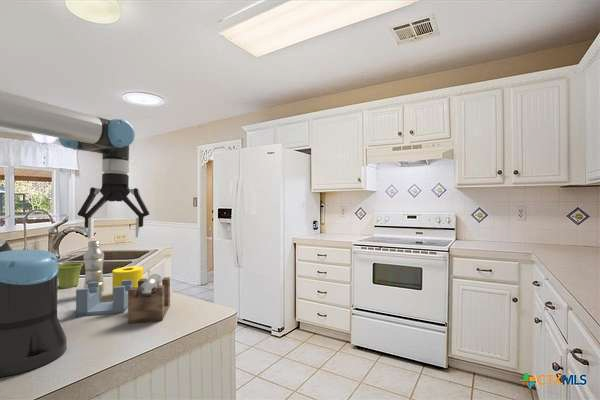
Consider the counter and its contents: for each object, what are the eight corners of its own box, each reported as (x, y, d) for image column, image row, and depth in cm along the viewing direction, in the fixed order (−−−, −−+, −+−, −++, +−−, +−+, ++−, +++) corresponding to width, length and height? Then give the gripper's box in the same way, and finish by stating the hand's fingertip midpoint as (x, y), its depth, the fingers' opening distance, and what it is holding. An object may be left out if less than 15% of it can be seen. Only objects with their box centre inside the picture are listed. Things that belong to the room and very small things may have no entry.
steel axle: (153, 296, 88) (153, 282, 88) (138, 297, 87) (138, 283, 87) (161, 285, 99) (161, 273, 99) (148, 286, 98) (148, 274, 98)
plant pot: (82, 282, 131) (82, 262, 131) (83, 286, 123) (84, 265, 123) (54, 286, 125) (54, 265, 125) (54, 291, 117) (54, 268, 117)
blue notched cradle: (123, 312, 94) (123, 286, 94) (76, 316, 91) (76, 289, 91) (132, 303, 103) (132, 279, 103) (89, 306, 100) (89, 282, 100)
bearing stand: (170, 305, 100) (170, 277, 100) (162, 320, 88) (162, 287, 88) (140, 308, 98) (140, 278, 98) (128, 323, 86) (128, 290, 86)
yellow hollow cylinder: (118, 300, 106) (118, 273, 106) (108, 294, 113) (108, 269, 113) (147, 293, 114) (147, 268, 114) (137, 288, 120) (136, 265, 120)
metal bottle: (92, 298, 108) (92, 242, 108) (78, 296, 110) (78, 242, 110) (108, 293, 114) (108, 240, 114) (95, 291, 116) (95, 239, 116)
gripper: (158, 175, 107) (157, 235, 107) (75, 173, 100) (74, 237, 99) (155, 173, 100) (154, 237, 100) (66, 170, 93) (64, 239, 92)
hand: (114, 237), depth 100 cm, fingers open, 13 cm apart
